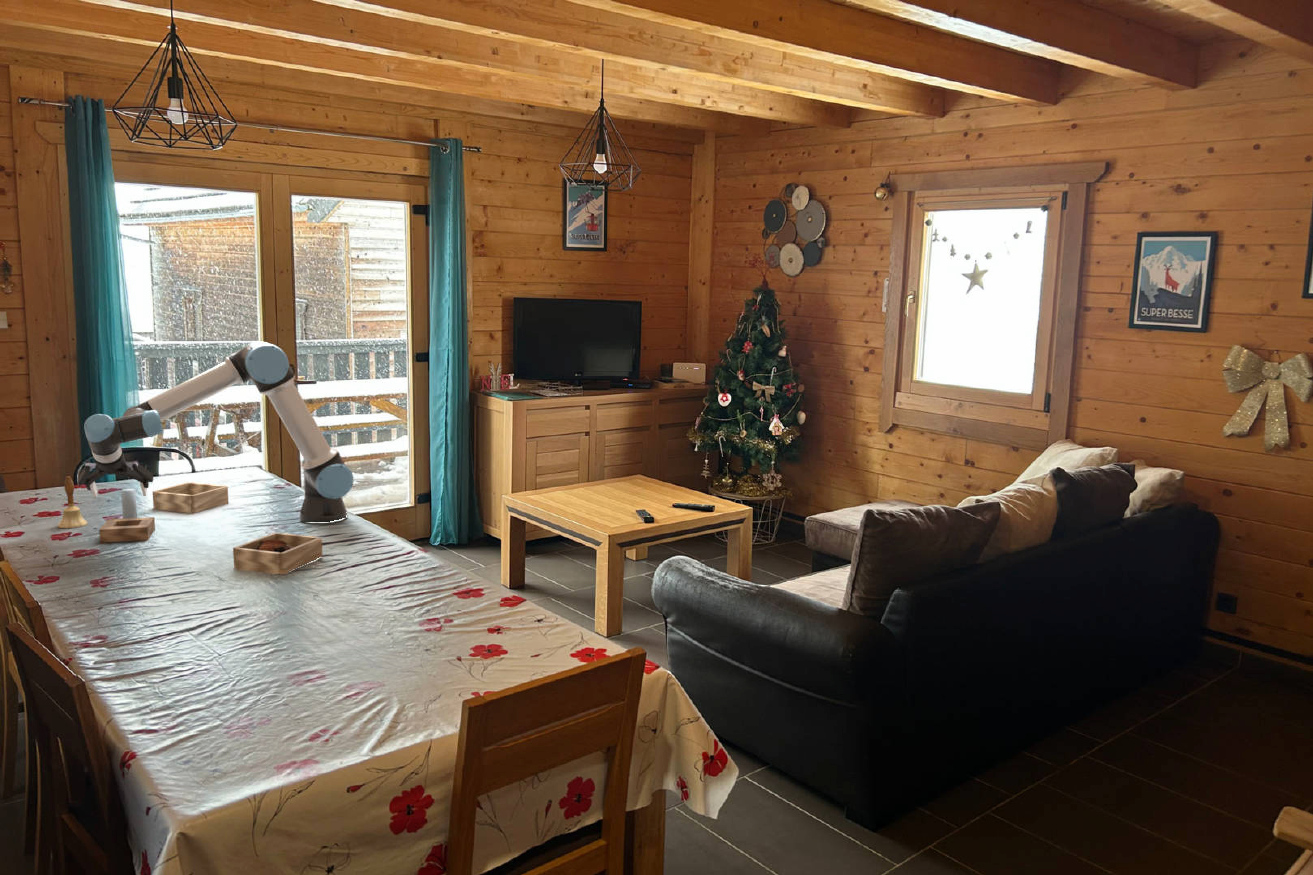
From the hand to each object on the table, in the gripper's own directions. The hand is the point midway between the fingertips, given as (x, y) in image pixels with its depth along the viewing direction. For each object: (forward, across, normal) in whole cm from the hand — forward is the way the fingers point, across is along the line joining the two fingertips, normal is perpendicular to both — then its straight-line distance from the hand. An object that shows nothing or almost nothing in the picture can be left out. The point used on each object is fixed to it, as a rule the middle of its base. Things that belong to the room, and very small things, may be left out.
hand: (120, 493), depth 300 cm
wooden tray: (+33, +16, +15) cm, 40 cm away
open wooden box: (-23, +47, -41) cm, 67 cm away
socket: (+6, +2, -12) cm, 13 cm away
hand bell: (+19, -17, +1) cm, 26 cm away
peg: (+15, +1, -3) cm, 15 cm away
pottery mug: (-24, +46, -42) cm, 67 cm away
